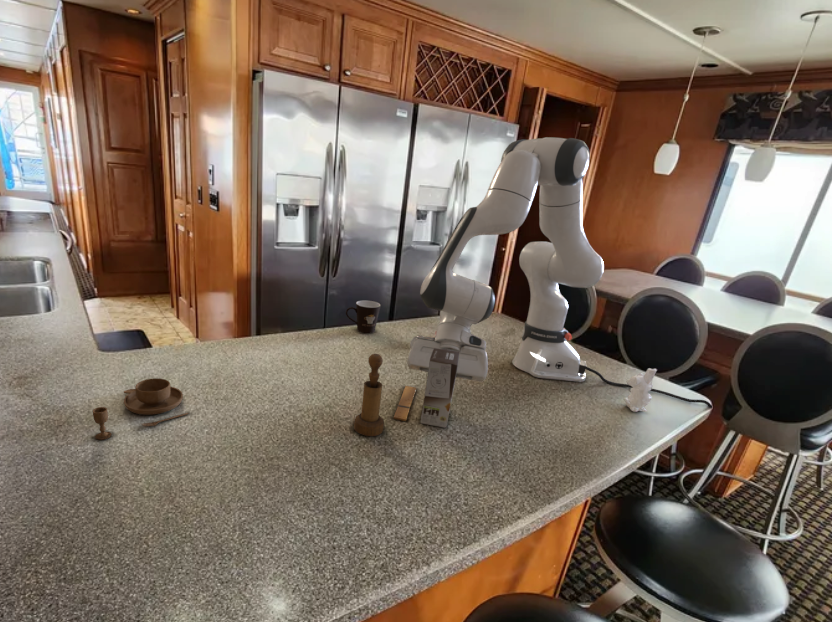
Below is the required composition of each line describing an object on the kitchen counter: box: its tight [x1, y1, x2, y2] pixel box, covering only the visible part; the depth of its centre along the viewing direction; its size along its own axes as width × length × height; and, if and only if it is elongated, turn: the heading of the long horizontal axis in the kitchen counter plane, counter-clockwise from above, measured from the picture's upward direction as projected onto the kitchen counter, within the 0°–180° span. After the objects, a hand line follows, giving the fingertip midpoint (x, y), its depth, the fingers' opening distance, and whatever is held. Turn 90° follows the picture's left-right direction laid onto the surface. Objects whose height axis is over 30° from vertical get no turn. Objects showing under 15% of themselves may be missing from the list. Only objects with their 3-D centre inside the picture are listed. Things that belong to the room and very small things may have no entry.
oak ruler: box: [392, 385, 417, 422], centre depth 116 cm, size 3×18×1 cm, turn 168°
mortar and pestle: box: [353, 353, 385, 437], centre depth 99 cm, size 7×6×18 cm
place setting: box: [92, 377, 189, 441], centre depth 99 cm, size 18×20×6 cm
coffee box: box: [420, 348, 459, 429], centre depth 108 cm, size 9×6×16 cm
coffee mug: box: [345, 300, 381, 335], centre depth 163 cm, size 12×9×10 cm
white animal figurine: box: [623, 367, 658, 413], centre depth 124 cm, size 8×7×12 cm
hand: (442, 390), depth 113 cm, fingers closed, pressing on coffee box
